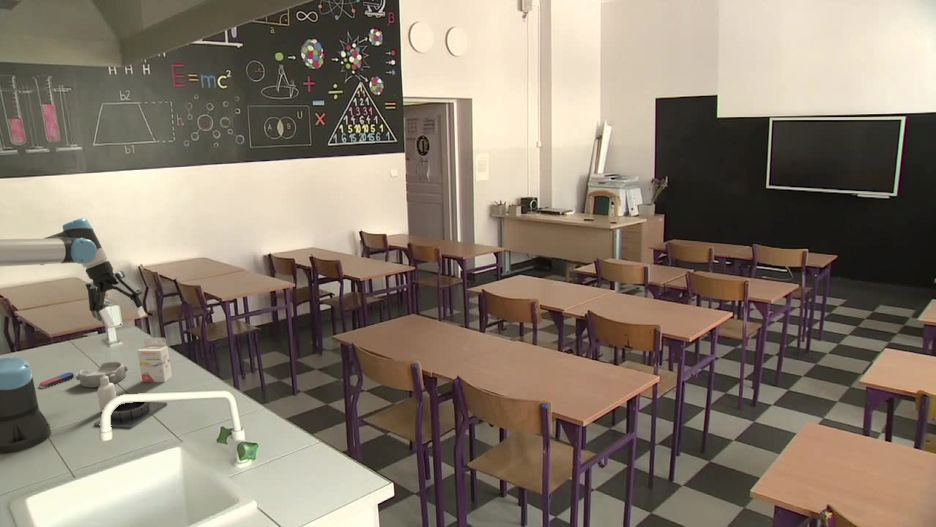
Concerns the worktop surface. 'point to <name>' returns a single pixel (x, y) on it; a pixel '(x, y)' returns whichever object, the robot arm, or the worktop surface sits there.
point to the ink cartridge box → (154, 361)
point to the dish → (111, 369)
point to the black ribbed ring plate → (133, 413)
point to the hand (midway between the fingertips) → (126, 321)
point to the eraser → (56, 380)
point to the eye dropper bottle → (105, 391)
